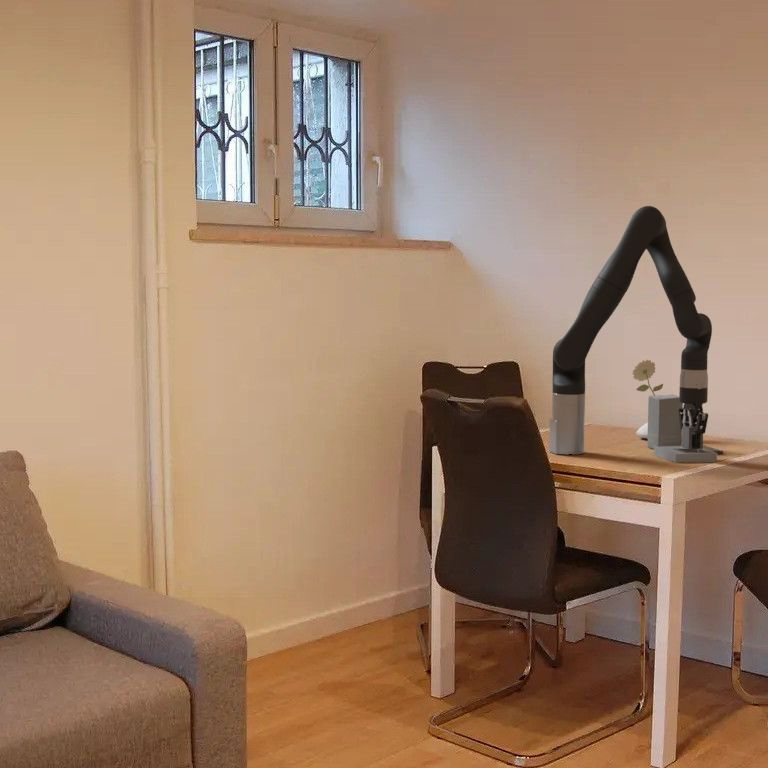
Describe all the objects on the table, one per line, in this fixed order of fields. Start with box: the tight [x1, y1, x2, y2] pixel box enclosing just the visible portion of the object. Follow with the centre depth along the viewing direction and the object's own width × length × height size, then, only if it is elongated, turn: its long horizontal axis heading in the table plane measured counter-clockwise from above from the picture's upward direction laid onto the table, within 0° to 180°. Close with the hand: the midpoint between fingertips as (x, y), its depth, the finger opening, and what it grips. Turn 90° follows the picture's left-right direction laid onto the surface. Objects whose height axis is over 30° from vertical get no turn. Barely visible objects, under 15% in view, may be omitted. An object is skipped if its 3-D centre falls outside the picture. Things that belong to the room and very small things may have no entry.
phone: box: [703, 444, 724, 455], centre depth 325 cm, size 12×6×1 cm, turn 10°
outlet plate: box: [653, 446, 718, 464], centre depth 312 cm, size 12×14×2 cm
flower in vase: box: [632, 359, 664, 440], centre depth 349 cm, size 13×11×25 cm
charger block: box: [682, 426, 704, 449], centre depth 310 cm, size 4×4×6 cm
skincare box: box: [647, 394, 684, 450], centre depth 329 cm, size 8×7×16 cm
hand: (692, 446), depth 310 cm, fingers closed on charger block, 4 cm apart
